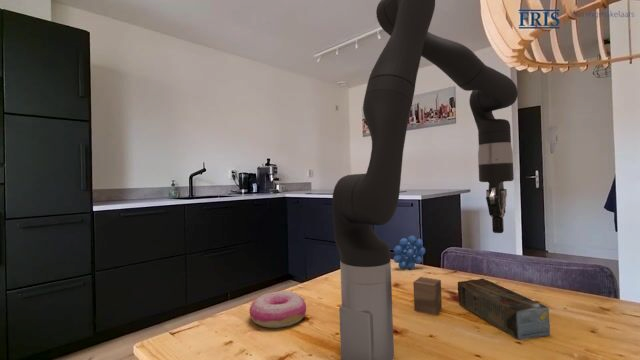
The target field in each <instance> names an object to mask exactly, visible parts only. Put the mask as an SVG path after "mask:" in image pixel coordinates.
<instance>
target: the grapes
mask: <svg viewBox="0 0 640 360" xmlns="http://www.w3.org/2000/svg"><path fill="white" fill-rule="evenodd" d="M416 237H417V236H415V235H410V236H408V238H405V237H403V238H401V239H400V240H399V245H396V246H395V247H394V248H393V252H394V254H395V255H394V256H393V262H394V263H395V264H396V263H398V267H399V269H401V270H402V269H403V270H405V268H407V269H408V270H412V269H414V268H415V266H416V265H419V264H421V263H422V262H423V257H422V256H423V255H425V253H426V248H425V247H424V246H423V244H424V242H423V239H421V238H416Z"/></svg>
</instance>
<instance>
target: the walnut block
mask: <svg viewBox="0 0 640 360" xmlns="http://www.w3.org/2000/svg"><path fill="white" fill-rule="evenodd" d="M412 283H413V303H414V304H413V308H414V310H413V311H414V312H415V311H416V312H418V313H423V314H427V315H432V316H436V315H437V314H438V313H439V312H440V311H441V310H442V308H443V306H442V305H443V302H442V280H441V279H437V278H432V277H431V278H430V277H427V276H426V277H424V276H420V277H419V278H417V279H415V280H414V281H413V282H412Z"/></svg>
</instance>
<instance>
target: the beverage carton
mask: <svg viewBox="0 0 640 360" xmlns="http://www.w3.org/2000/svg"><path fill="white" fill-rule="evenodd" d="M457 291H458V292H457V297H458V304H459V305H460V306H462V307H463V308H465V310H468V311H470V312H471V313H473V314H474V315H476V316H478V317H479V318H481V319H483V320H484V321H486V322H488V323H489V324H491V325H493V326H494V327H496V328H497V329H499V330H501V331H503V332H504V333H506V334H508V335H509V336H511V337H512V338H515V339H516V340H519V341H522V340H528V339H535V338H541V337H546V336H547V337H549V336H550V335H551V324H550V315H549V314H550V309H549V307H548V306H546V305H544V304H541V303H539V302H537V301H534V300H533V299H531V298H529V297H526V296H524V295H522V294H519V293H517V292H515V291H513V290H511V289H509V288H505V287H504V286H501V285H499V284H497V283H496V282H495V283H494V282H493V281H490V280H488V279H485V278H478V279H469V280H461V281H458V282H457Z"/></svg>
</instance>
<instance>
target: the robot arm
mask: <svg viewBox="0 0 640 360" xmlns="http://www.w3.org/2000/svg"><path fill="white" fill-rule="evenodd" d="M435 7H436V0H380V1H379V2H378V4H377V6H376V12H375V13H376V14H375V15H376V20H377V23H378V25H379V26H380V27H381V29H382V30H383V31H384V32H385V33H386V34H387V35H388V36H390V37H389V39H388V40H387V42H386V44H385V46H384V48H383V49H382V51H381V53H380V54H379V57H378V58H377V60H376V62H375V64H374V66H373V67H372V69H371V72H370V75H369V77H368V81H367V84H366V89H365V94H364V99H363V105H362V109H363V110H362V112H363V116H364V121H365V124H366V126H367V129H368V131H369V134H370V140H371V152H370V158H369V164H368V167H367V170H366V172H365V173H355V174H354V173H353V174H346V175H344V176H342V177H341V178H339V179H338V181H337V182H336V184H335V185H334V188H333V192H332V219H333V220H332V221H333V231H334V241H335V245H336V248H337V250H338V252H339V263H340V264H339V265H340V267H339V268H340V294H341V296H340V297H341V305H340V306H339V311H338V312H339V313H338V314H339V338H340V359H341V360H394V358H395V348H394V347H395V346H394V344H395V343H394V340H395V339H394V317H393V295H392V294H393V293H392V292H393V291H392V289H393V288H392V263H391V249H390V246H389V244H388V243H386V242H385V241H384V240H382V238H380V237H379V236H378V235H377V234H376V233H375V231H374V230H373V226H383V225H386V224H388V223H389V222H390V221H391V220H392V219H393V217H394V215H395V213H396V211H397V208H398V204H399V198H400V192H401V191H400V190H401V180H402V170H403V169H402V168H403V157H404V148H405V142H406V135H407V131H408V130H407V129H408V124H409V118H410V114H411V110H412V106H413V102H414V96H415V90H416V83H417V77H418V72H419V67H420V64H421V58H424V59H426V60H427V61H429V62H430V63H432V64H433V65H434V66H435V67H437V68H438V69H439V70H440V71H442V72H443V73H445V75H446V76H447V77H448V78H449V79H451V81H452V82H454V84H456V86H458V87H459V88H460V89H462V90H463V91H468V92H469V91H471V93H470V96H469V108H470V111H471V113H472V115H473V118H474V119H473V120H474V122H475V124H476V125H475V126H476V128H477V131H478V134H477V137H478V139H477V140H478V151H477V160H478V161H477V162H478V164H477V165H478V181H479V182H481V183H488V189H486V191H485V192H486V197H485V200H486V205H487V209H488V214H489V216H490V218H491V222H492V223H491V225H492V227H491V228H492V233H494V234H503V232H504V231H505V230H504V229H505V228H504V227H505V226H504V217H505V214H506V207H507V195H508V191H507V190H508V189H507V188H504V187H505V186H504V183H505V182H513V181H514V179H515V178H514V177H515V173H514V153H513V148H512V136H511V135H512V133H511V124H510V121H509V120H508V119H505V118H495V116H494V114H493V112H494V111H498V110H502V109H506V108H509V107H511V106H513V104H514V103H515V102H516V101H517V99H518V97H519V94H518V93H519V91H518V88H517V85H516V83H515V82H514V81H513V80H512V79H511V78H510V77H509V76H507V75H505V74H504V73H502V72H501V71H498V70H496V69H494V68H492V67H490V66H488V65H486V64H485V63H484V62H483V61H482V60H481V59H480V57H478V56H477V54H475V53H474V52H473V51H472V50H471V49H470V48H469V47H468V46H466V45H464V44H462V43H460V42H458V41H454V40H450V39H448V38H443V37H441V36H439V35H436V34H433V33H431V32H430V31H429V29H430V26H431V22H432V19H433V16H434V12H435Z"/></svg>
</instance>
